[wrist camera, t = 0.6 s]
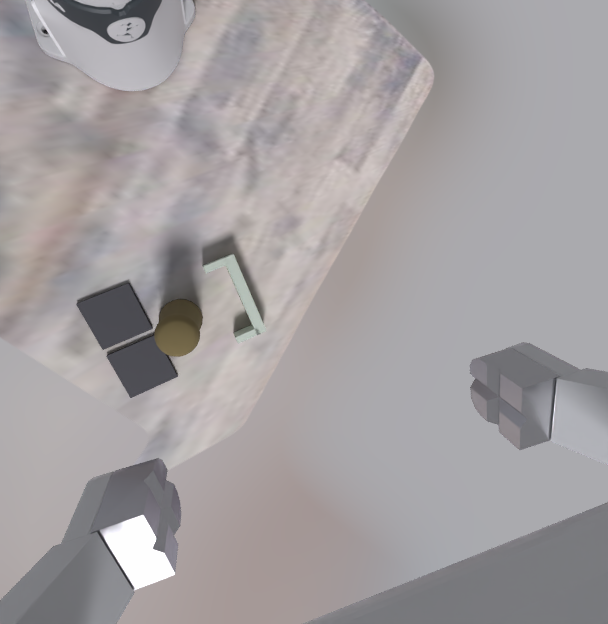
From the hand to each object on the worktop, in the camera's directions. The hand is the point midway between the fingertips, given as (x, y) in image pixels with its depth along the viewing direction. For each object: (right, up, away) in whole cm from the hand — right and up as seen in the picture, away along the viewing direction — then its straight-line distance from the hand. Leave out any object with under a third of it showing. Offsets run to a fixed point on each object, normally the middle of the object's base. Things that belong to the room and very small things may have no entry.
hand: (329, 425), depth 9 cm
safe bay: (-11, +5, +44) cm, 46 cm away
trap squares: (-25, -1, +41) cm, 49 cm away
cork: (-19, +2, +43) cm, 47 cm away
